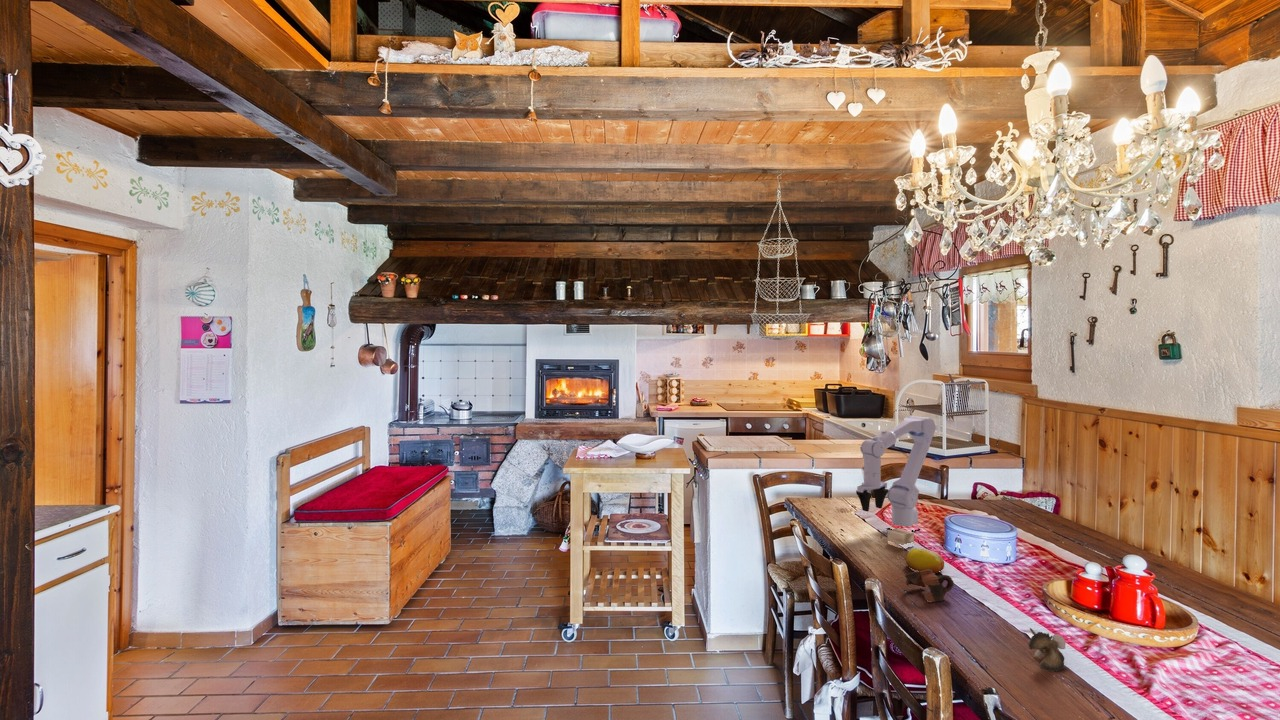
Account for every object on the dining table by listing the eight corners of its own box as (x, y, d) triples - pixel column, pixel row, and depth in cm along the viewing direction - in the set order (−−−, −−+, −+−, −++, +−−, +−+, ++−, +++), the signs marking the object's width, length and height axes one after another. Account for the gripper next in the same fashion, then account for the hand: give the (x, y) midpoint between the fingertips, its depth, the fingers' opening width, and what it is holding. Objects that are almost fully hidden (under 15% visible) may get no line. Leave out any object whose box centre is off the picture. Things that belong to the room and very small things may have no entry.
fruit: (954, 575, 173) (946, 550, 173) (920, 585, 174) (912, 560, 173) (935, 561, 185) (928, 537, 184) (903, 570, 185) (896, 547, 185)
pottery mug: (916, 605, 155) (904, 573, 159) (910, 607, 163) (899, 577, 167) (963, 596, 153) (950, 564, 157) (954, 599, 161) (942, 568, 165)
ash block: (898, 542, 206) (898, 528, 206) (913, 547, 201) (913, 532, 201) (887, 544, 203) (887, 530, 203) (902, 549, 198) (902, 535, 198)
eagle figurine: (1018, 641, 132) (1018, 650, 125) (1038, 617, 131) (1040, 625, 123) (1052, 668, 128) (1055, 680, 121) (1074, 644, 127) (1078, 655, 119)
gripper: (875, 468, 221) (875, 504, 221) (850, 472, 213) (850, 509, 213) (892, 471, 215) (891, 508, 215) (866, 476, 207) (866, 514, 207)
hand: (872, 509), depth 214 cm, fingers open, 7 cm apart
